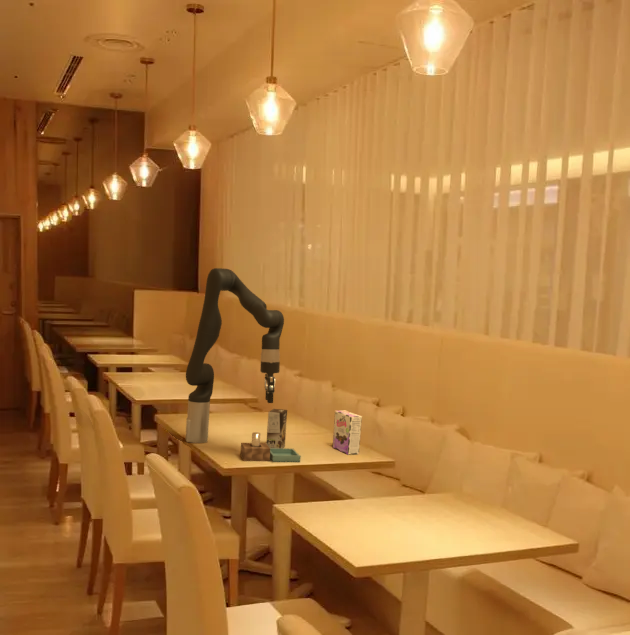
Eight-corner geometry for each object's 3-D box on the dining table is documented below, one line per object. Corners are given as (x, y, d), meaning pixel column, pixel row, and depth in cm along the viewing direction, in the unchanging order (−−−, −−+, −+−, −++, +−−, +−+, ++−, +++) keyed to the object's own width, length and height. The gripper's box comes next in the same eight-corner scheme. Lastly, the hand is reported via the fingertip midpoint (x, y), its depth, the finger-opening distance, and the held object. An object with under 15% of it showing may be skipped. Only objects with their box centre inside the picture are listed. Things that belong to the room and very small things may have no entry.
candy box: (331, 447, 340) (334, 410, 340) (343, 447, 343) (346, 409, 342) (347, 455, 328) (350, 416, 327) (359, 454, 331) (362, 415, 330)
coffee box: (280, 451, 327) (282, 412, 326) (265, 449, 328) (267, 411, 327) (285, 446, 336) (287, 409, 335) (270, 445, 337) (273, 408, 336)
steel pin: (251, 459, 310) (252, 433, 309) (250, 457, 313) (251, 432, 312) (259, 459, 310) (260, 434, 310) (258, 457, 313) (259, 432, 313)
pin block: (244, 461, 305) (245, 448, 305) (240, 455, 315) (241, 442, 315) (269, 461, 308) (270, 448, 308) (264, 455, 318) (265, 443, 317)
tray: (272, 462, 307) (273, 455, 306) (266, 454, 319) (267, 448, 319) (300, 462, 309) (300, 456, 309) (292, 454, 322) (293, 448, 322)
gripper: (259, 359, 316) (258, 399, 316) (262, 361, 302) (261, 403, 302) (277, 359, 317) (276, 399, 317) (281, 362, 303) (280, 404, 303)
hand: (269, 401), depth 310 cm, fingers open, 8 cm apart
